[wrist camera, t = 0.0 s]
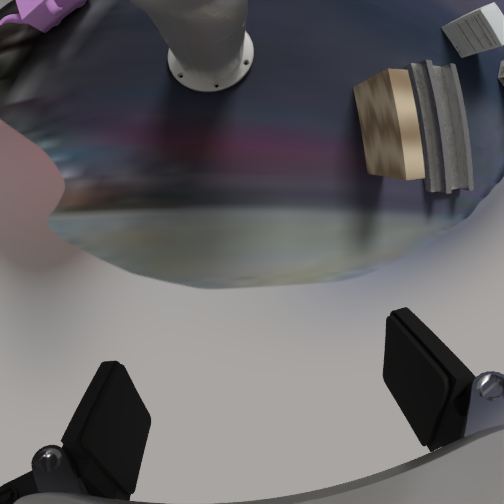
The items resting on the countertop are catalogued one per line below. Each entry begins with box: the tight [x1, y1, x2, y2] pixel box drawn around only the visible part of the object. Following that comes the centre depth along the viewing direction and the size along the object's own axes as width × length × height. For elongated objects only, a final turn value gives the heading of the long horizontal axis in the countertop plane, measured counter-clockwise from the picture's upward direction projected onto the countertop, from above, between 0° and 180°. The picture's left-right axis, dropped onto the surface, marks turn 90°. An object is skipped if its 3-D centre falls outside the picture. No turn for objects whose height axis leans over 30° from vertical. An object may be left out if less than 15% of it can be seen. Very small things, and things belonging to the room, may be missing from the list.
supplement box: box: [442, 3, 504, 58], centre depth 30 cm, size 7×7×13 cm
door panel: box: [353, 69, 425, 180], centre depth 36 cm, size 14×3×12 cm, turn 10°
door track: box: [405, 60, 474, 194], centre depth 40 cm, size 22×9×5 cm, turn 10°
